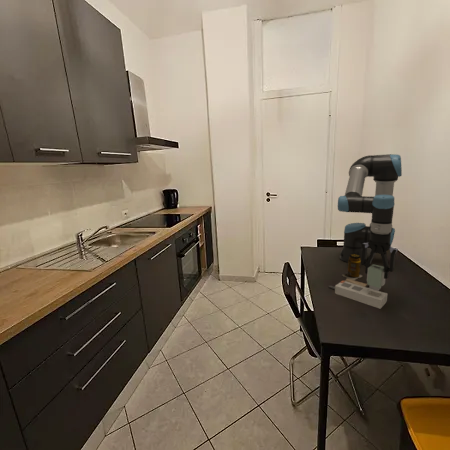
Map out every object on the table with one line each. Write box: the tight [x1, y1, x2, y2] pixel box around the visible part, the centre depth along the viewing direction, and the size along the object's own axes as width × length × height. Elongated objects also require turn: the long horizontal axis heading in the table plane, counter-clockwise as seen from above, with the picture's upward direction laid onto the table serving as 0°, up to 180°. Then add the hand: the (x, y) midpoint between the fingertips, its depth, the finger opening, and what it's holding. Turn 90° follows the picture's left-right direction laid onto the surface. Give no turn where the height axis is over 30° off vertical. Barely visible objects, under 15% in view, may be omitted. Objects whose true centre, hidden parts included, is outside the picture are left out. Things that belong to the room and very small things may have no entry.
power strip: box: [328, 280, 388, 310], centre depth 123 cm, size 25×8×4 cm, turn 43°
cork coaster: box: [344, 277, 369, 287], centre depth 133 cm, size 10×10×1 cm
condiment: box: [341, 254, 363, 281], centre depth 143 cm, size 7×8×12 cm
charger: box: [366, 263, 384, 291], centre depth 115 cm, size 5×5×10 cm
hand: (375, 282), depth 115 cm, fingers closed on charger, 5 cm apart
